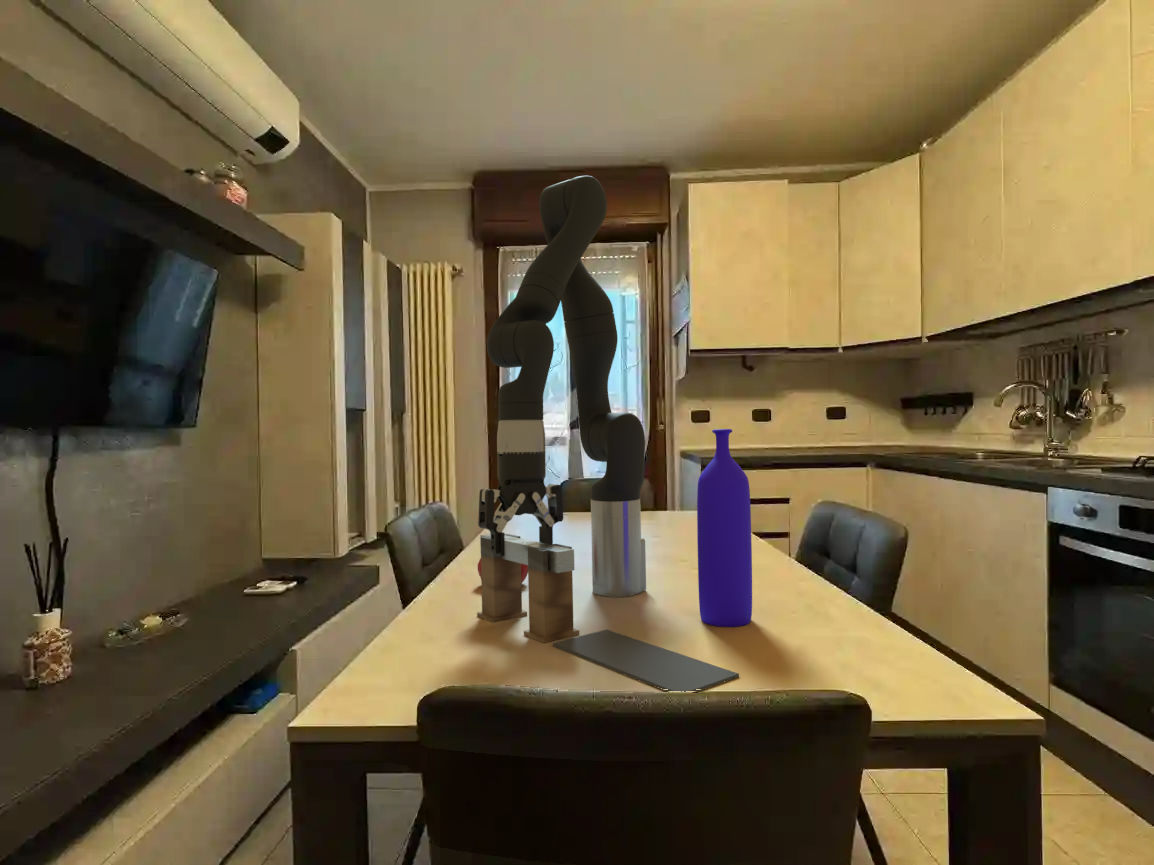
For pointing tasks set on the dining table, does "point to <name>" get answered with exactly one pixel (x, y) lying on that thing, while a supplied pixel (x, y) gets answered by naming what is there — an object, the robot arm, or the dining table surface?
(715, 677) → the mat
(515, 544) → the rail
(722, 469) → the bottle
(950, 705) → the dining table surface
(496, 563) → the post
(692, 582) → the dining table surface
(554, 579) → the post
